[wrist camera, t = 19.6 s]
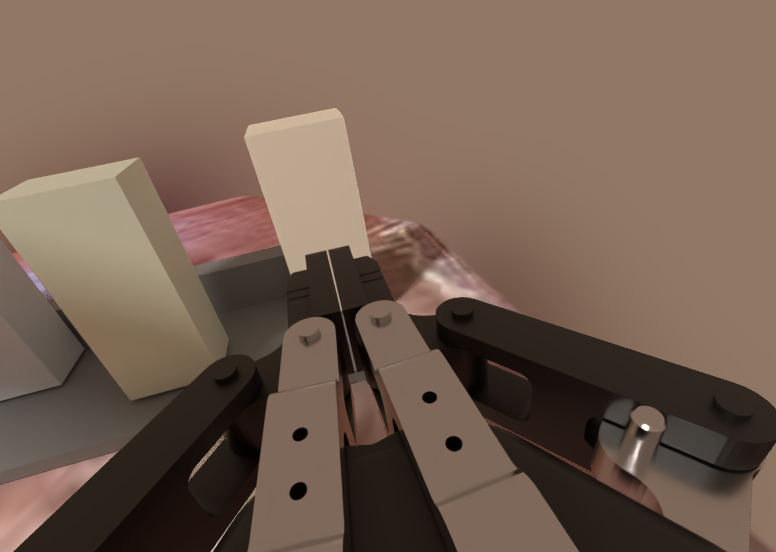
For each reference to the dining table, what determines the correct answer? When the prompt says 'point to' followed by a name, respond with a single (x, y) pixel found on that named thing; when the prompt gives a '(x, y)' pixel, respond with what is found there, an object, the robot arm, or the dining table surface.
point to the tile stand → (127, 418)
